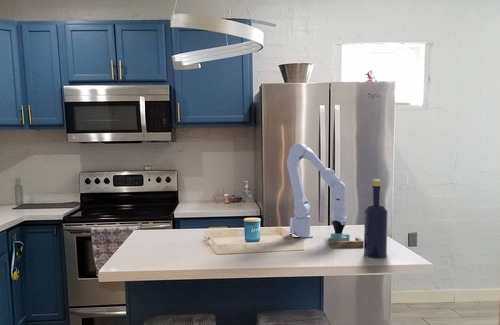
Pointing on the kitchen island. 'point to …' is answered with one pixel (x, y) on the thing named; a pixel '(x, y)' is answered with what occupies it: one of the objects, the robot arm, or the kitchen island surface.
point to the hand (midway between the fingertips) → (338, 236)
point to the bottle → (375, 226)
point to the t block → (340, 236)
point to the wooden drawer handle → (346, 243)
